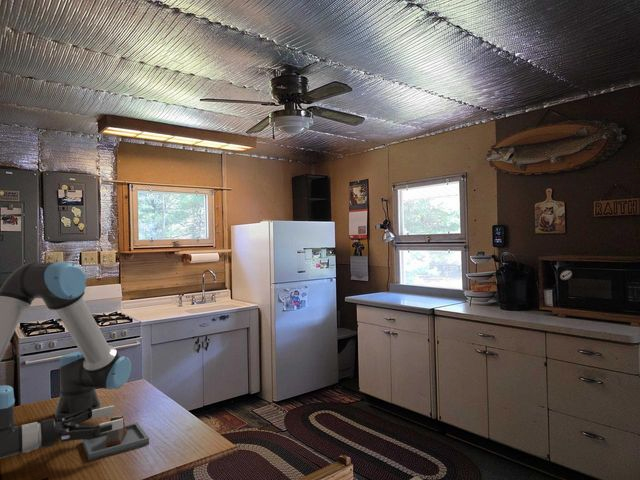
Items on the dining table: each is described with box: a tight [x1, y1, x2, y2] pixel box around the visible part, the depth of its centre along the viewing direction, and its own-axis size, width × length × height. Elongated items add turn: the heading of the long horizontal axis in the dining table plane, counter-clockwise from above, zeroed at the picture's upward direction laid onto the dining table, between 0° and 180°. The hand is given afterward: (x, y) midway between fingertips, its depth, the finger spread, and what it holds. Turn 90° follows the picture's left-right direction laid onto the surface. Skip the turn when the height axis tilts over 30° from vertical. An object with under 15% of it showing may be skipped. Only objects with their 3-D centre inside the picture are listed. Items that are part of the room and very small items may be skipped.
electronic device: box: [106, 415, 127, 447], centre depth 139 cm, size 4×10×8 cm, turn 12°
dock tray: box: [81, 422, 150, 462], centre depth 138 cm, size 15×17×2 cm
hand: (118, 416), depth 139 cm, fingers open, 13 cm apart
